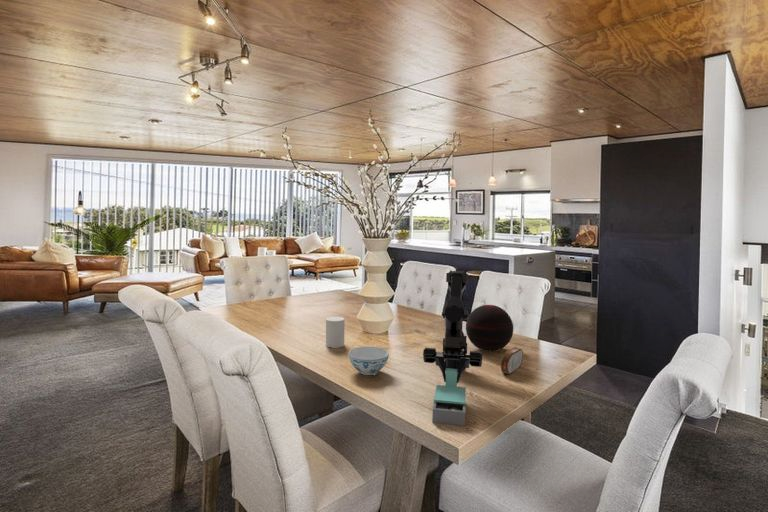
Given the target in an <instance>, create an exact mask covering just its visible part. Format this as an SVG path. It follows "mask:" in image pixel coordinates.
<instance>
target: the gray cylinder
mask: <svg viewBox="0 0 768 512" xmlns="http://www.w3.org/2000/svg"><path fill="white" fill-rule="evenodd" d="M325 346H326V348H329V347H332V348H331V349H340V348H339V347H341V348H343V347H345V318H344V317H342V316H329V317H326V318H325ZM342 346H343V347H342Z"/></svg>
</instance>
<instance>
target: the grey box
mask: <svg viewBox="0 0 768 512" xmlns="http://www.w3.org/2000/svg"><path fill="white" fill-rule="evenodd" d="M438 406H446V407H448V410H447V409H437V407H438ZM453 407H456V408H459V409H460V410H461V411H457V410H450V408H453ZM431 418H432V419H431V420H432V424H440V425H441V424H442V425H451V426H460V427H465V425H466V404H465V405H464V404H453V403H443V402H434V401H433V406H432V417H431Z"/></svg>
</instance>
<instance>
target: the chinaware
mask: <svg viewBox="0 0 768 512" xmlns="http://www.w3.org/2000/svg"><path fill="white" fill-rule="evenodd" d="M389 356H390V351H389V350H388V349H386V348H383V347H380V346H373V345H372V346H371V345H370V346H369V345H368V346H366V345H365V346H358V347H354V348H351V349H350V350H349V351H348V358H349V361H350V363H351V366H353V368H354V369H355V370H357V371H358V372H360V373H361V374H364V375H374V374H376V375H378V373H379V372H380V371H381V370H382V369H383V368H384V367H385V366H386V364H387V362H388V360H389ZM360 373H359V374H360ZM361 374H360V375H361ZM374 376H375V375H374Z"/></svg>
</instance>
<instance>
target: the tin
mask: <svg viewBox="0 0 768 512" xmlns="http://www.w3.org/2000/svg"><path fill="white" fill-rule="evenodd" d="M523 355H524V351H523V349H522V348H520V347H517V346H514V347H512V348H510V349H508V350H506V351H505V352H504V354H503V356H502V359H501V362H500V363H501V364H500V369H501V373H502V374H506V375H511V374H512V373H514V372H516V371H517V370H519V369H520V368H521V365H522V363H523Z"/></svg>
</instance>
